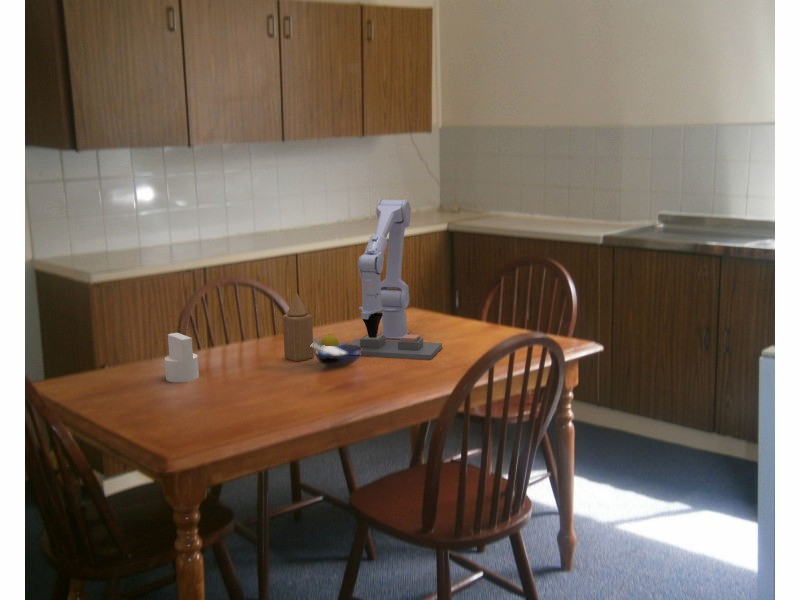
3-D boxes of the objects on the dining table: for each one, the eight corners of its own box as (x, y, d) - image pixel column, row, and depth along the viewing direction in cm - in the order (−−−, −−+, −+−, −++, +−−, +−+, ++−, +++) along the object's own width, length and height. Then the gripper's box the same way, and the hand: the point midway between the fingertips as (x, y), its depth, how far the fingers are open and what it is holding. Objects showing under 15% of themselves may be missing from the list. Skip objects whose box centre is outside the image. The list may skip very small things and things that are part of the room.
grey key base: (356, 343, 287) (355, 330, 286) (442, 347, 279) (441, 335, 279) (340, 354, 274) (340, 341, 273) (430, 360, 266) (430, 346, 265)
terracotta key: (405, 340, 277) (405, 334, 277) (419, 341, 276) (419, 334, 276) (401, 344, 273) (401, 337, 273) (415, 344, 272) (415, 338, 271)
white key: (368, 341, 281) (368, 334, 280) (382, 341, 279) (381, 335, 279) (363, 344, 277) (363, 338, 276) (377, 345, 275) (377, 339, 275)
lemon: (317, 360, 269) (316, 334, 267) (331, 356, 273) (330, 330, 271) (329, 363, 265) (328, 337, 263) (343, 359, 269) (342, 333, 267)
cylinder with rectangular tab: (160, 377, 255) (157, 336, 253) (189, 371, 261) (186, 330, 258) (175, 384, 248) (171, 342, 246) (204, 377, 254) (201, 336, 251)
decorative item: (314, 358, 271) (311, 292, 267) (296, 362, 267) (292, 295, 263) (302, 353, 276) (299, 289, 272) (283, 358, 272) (280, 292, 268)
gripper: (366, 288, 283) (367, 330, 286) (350, 297, 269) (352, 342, 272) (388, 289, 281) (389, 331, 284) (373, 298, 267) (374, 343, 270)
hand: (372, 337), depth 278 cm, fingers closed, pressing on white key
